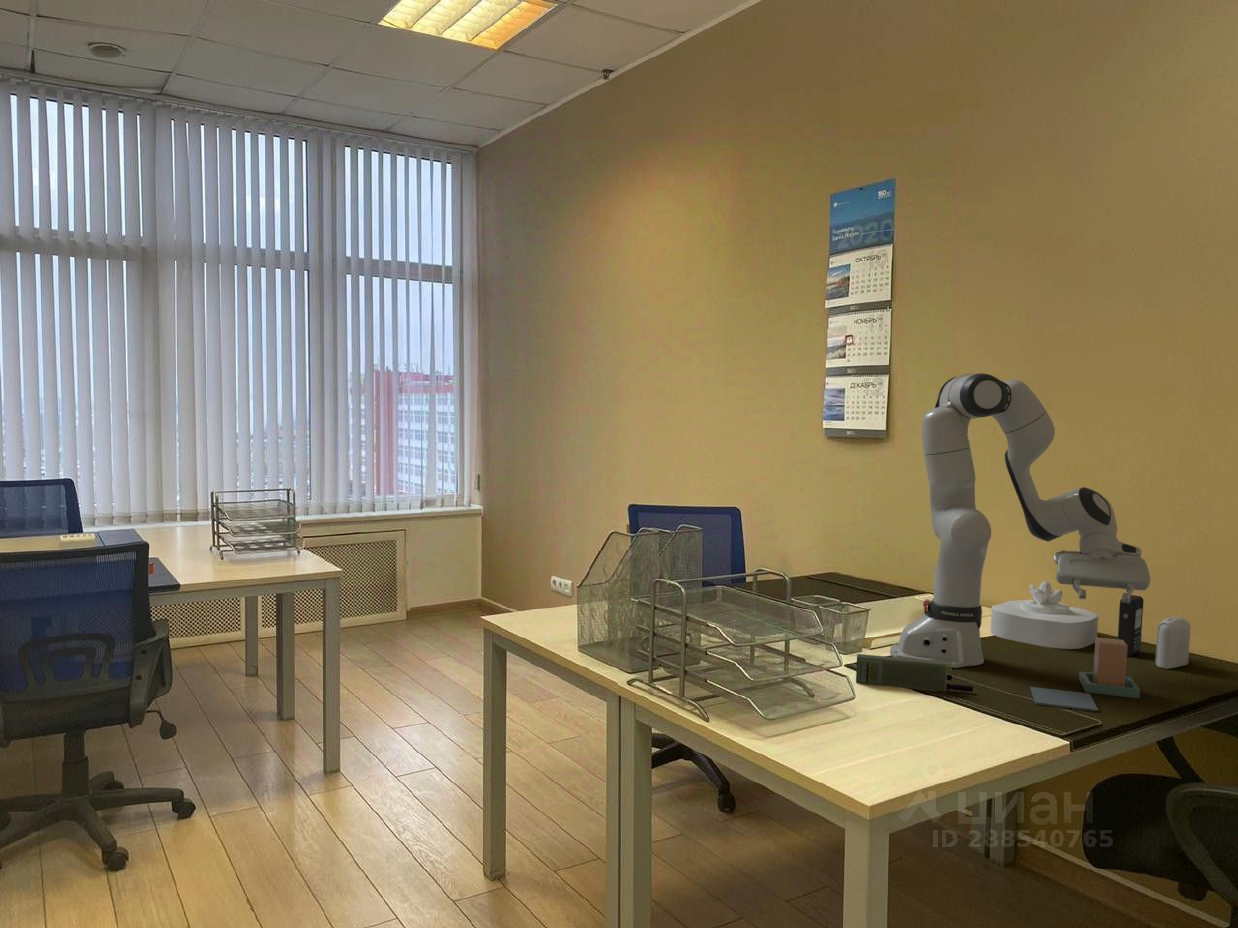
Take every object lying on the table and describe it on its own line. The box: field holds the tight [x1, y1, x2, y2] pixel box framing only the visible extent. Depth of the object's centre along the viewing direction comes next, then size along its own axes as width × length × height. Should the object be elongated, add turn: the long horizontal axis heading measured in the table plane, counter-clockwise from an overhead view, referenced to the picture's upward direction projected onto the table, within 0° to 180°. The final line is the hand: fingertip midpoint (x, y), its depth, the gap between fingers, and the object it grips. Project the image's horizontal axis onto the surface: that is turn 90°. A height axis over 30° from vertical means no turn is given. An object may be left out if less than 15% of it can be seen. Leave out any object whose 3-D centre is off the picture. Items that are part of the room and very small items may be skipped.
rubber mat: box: [1030, 686, 1099, 712], centre depth 199 cm, size 12×12×1 cm
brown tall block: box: [1092, 636, 1128, 687], centre depth 208 cm, size 6×6×11 cm
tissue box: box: [990, 580, 1099, 650], centre depth 258 cm, size 25×25×16 cm
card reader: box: [1117, 594, 1145, 657], centre depth 241 cm, size 9×4×15 cm, turn 136°
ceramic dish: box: [1078, 670, 1141, 699], centre depth 208 cm, size 11×11×3 cm
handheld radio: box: [855, 653, 974, 693], centre depth 204 cm, size 7×3×25 cm
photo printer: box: [1154, 616, 1192, 669], centre depth 230 cm, size 10×4×12 cm, turn 123°
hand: (1104, 599), depth 218 cm, fingers open, 8 cm apart
